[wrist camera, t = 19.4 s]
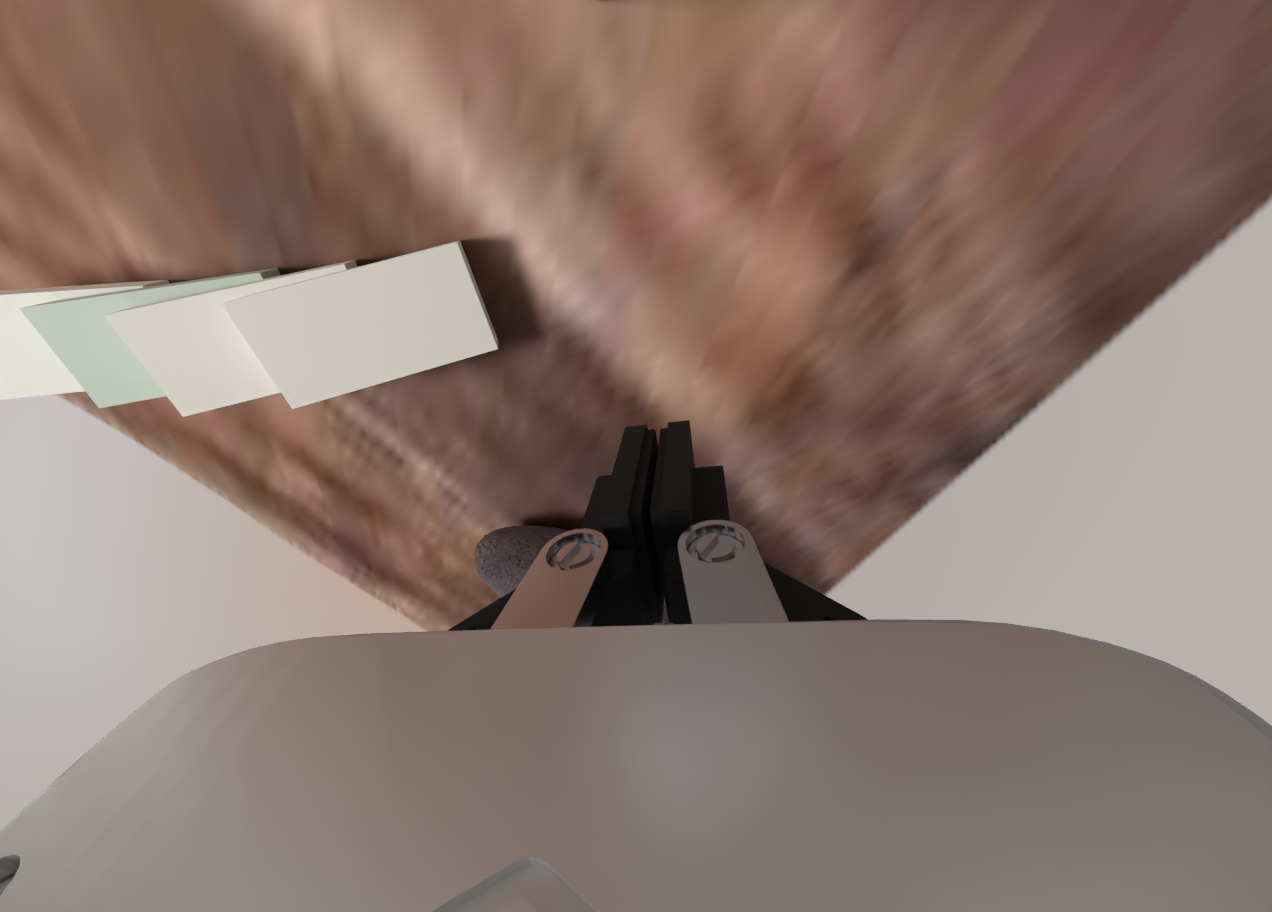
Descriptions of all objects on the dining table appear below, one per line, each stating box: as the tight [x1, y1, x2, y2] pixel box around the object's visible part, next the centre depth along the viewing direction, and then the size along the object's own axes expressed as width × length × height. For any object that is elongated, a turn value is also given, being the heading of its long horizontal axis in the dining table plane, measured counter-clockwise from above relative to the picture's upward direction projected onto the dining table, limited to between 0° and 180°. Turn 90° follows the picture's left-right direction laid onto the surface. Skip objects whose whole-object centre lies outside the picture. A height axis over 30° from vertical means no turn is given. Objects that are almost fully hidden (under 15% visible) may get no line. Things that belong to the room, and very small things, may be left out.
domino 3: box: [103, 260, 358, 417], centre depth 22 cm, size 5×2×10 cm
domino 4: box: [221, 241, 498, 409], centre depth 22 cm, size 5×2×10 cm
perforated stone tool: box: [474, 526, 673, 625], centre depth 29 cm, size 15×5×7 cm, turn 71°
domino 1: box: [0, 280, 170, 400], centre depth 24 cm, size 5×2×10 cm
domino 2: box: [19, 268, 281, 408], centre depth 23 cm, size 5×2×10 cm
